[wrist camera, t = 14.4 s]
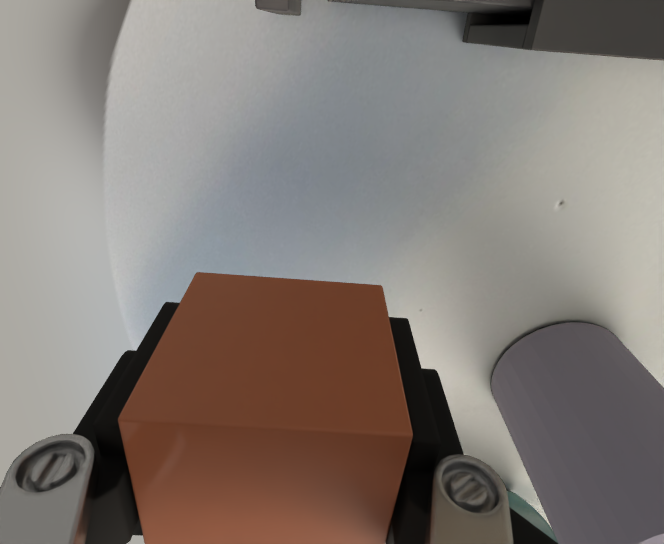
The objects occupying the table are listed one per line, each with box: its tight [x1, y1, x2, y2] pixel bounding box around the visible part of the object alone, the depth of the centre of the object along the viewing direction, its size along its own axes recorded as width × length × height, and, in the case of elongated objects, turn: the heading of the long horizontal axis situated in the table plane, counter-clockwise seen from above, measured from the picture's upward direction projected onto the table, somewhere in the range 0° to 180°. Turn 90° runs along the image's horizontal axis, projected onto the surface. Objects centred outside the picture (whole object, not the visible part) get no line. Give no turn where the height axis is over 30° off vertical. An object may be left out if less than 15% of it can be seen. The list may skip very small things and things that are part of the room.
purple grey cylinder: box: [491, 322, 664, 544], centre depth 28 cm, size 10×10×15 cm
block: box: [118, 272, 413, 544], centre depth 10 cm, size 5×5×5 cm
